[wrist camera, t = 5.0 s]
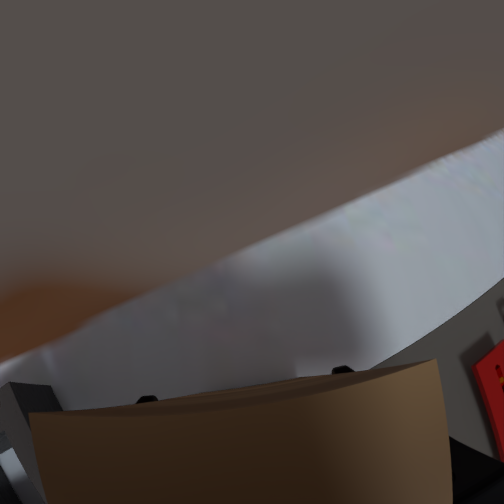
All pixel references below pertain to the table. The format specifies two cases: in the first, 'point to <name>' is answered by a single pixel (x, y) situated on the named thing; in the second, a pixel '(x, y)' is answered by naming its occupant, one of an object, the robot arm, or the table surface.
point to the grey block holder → (22, 430)
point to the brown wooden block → (258, 444)
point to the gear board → (469, 371)
